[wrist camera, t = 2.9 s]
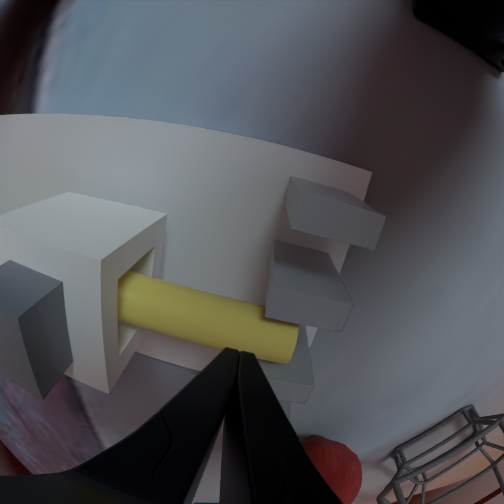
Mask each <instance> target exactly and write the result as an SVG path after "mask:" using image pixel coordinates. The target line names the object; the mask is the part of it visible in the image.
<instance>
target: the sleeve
mask: <svg viewBox="0 0 504 504" xmlns="http://www.w3.org/2000/svg"><path fill="white" fill-rule="evenodd" d="M166 220H167V214H166V213H162V212H158V211H153V210H149V209H144V208H140V207H136V206H131V205H127V204H122V203H118V202H113V201H109V200H104V199H99V198H95V197H90V196H86V195H81V194H76V193H72V192H67V193H64V194H60V195H57V196H54V197H51V198H48V199H45V200H42V201H39V202H36V203H33V204H30V205H27V206H25V207H22V208H19V209H16V210H14V211H11V212H8V213H6V214H3V215H0V373H1V374H3V375H4V376H6V377H7V378H9V379H10V380H11V381H13V382H14V383H16V384H17V385H19V386H20V387H22V388H24V389H25V390H27V391H28V392H30V393H32V394H33V395H35V396H36V397H38V398H40V399H42V400H44V399H45V397H46V396H47V395H48V393H49V392H50V391H51V389H52V388H53V387H54V385H55V384H56V383H57V381H58V380H59V379H60V378H61V376H62V375H63V374H65V375H67V376H69V377H71V378H73V379H75V380H77V381H79V382H81V383H84V384H86V385H88V386H90V387H93V388H95V389H97V390H100V391H102V392H104V393H107V394H109V395H110V393H111V391H112V389H113V388H114V386H115V384H116V383H117V381H118V379H119V378H120V376H121V374H122V373H123V371H124V369H125V368H126V366H127V364H128V363H129V361H130V359H131V358H132V356H133V354H134V353H135V351H136V350H137V348H138V346H139V345H140V343H141V341H142V340H143V338H144V337H145V335H146V333H147V332H148V330H147V329H144V328H141V327H138V326H135V325H132V324H129V323H126V322H123V321H120V320H118V316H117V293H118V279H119V278H120V277H121V276H122V275H123V274H124V273H125V272H126V271H127V270H129V271H132V272H136V273H139V274H143V275H146V276H150V277H153V278H157V279H159V275H160V266H161V257H162V249H163V241H164V234H165V227H166Z"/></svg>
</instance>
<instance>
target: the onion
mask: <svg viewBox="0 0 504 504" xmlns="http://www.w3.org/2000/svg"><path fill="white" fill-rule="evenodd" d="M302 445H303V447H304V449H305V450H306V452H307V454H308V455H309V457H310V459H311V460H312V462H313V464H314V465H315V467H316V468H317V470H318V471H319V472H320V474H321V475H322V477H323V478H324V479H325V481H326V482H327V483H328V485H329V486H330V487H331V488H332V490H333V491H334V492H335V493H336V495H337V496H338V497H339V498H340V500H341V501H342V502H343V503H344V504H351V503H352V502H353V500H354V499H355V497H356V496H357V494H358V492H359V490H360V487H361V482H362V469H361V463H360V461H359V459H358V457H357V455H356V454H355V453H354V452H352V451H351V450H350V449H349V448H348V447H347V446H346V445H344V444H341V443H339V442H336V441H332V440H328V439H325V438H323V437H321V436H313V437H311V438H309V439H308V440H306V441H305V442H304V443H303V444H302Z"/></svg>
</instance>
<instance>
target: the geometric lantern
mask: <svg viewBox="0 0 504 504" xmlns="http://www.w3.org/2000/svg"><path fill="white" fill-rule="evenodd" d="M469 409H470V410H471V412H472V416H473V420H471V418H470V416H469V415H468V413H467V412H466V411H467V410H469ZM461 413H462V414H463V415H464V417H465V418H466V420H467V422H468V423H469V424H467V425H466V426H464V427H463V428H462V429H460V430H459V431H457V432H456V433H454V434H453V435H451V436H450V437H448V438H447V439H445V440H443V441H442V442H440V443H439V444H437V445H435V446H434V447H432V448H430V449H429V450H427V451H425V452H423V453H422V454H420V455H418V456H416V457H414V458H413V459H411V460H409V461H406V458H405V456H404V454H403V452H402V450H401V449H402V448H404V447H406V446H408V445H410V444H412V443H414V442H416V441H417V440H419V439H421V438H423V437H424V436H426V435H428V434H430V433H431V432H433V431H435V430H436V429H438V428H440V427H441V426H443V425H444V424H446V423H447V422H449V421H451V420H452V419H454V418H455V417H457V416H458V415H459V414H461ZM492 419H497V420H492ZM473 424H475V428H476V431H475V432H474V434H473V435H472V436H471V437H470V438H468V439H467V440H465V441H464V442H462V443H461V444H459V445H458V446H456V447H455V448H453V449H451V450H450V451H448V452H446V453H445V454H443V455H441V456H440V457H438V458H436V459H434V460H433V461H431V462H429V463H427V464H425V465H423V466H422V467H418V468H414V469H412V468H410V467H409V466H408V465H409V464H411V463H413V462H414V461H416V460H418V459H420V458H422V457H424V456H425V455H427V454H429V453H431V452H432V451H434V450H436V449H437V448H439V447H441V446H442V445H444V444H445V443H447V442H448V441H450V440H452V439H453V438H455V437H456V436H458V435H459V434H461V433H462V432H463V431H465V430H466V429H468V428H469V427H471V426H472V425H473ZM478 425H479V426H478ZM483 425H489V426H487V427H486V428H485V429H483ZM497 426H500V428H501V430H502V431H503V433H504V414H498V415H492V416H485V417H479V415H478V413H477V411H476V410H475V408H474V406H473V405H469V406H467V407H464V408H462V409H460V410H459V411H457V412H456V413H454V414H453V415H452V416H450V417H448V418H447V419H445V420H444V421H442V422H441V423H439V424H438V425H436V426H434V427H433V428H431V429H429V430H428V431H426V432H424V433H422V434H421V435H419V436H417V437H415V438H414V439H412V440H410V441H408V442H406V443H404V444H402V445H400V446H399V447H396V449H395V451H394V453H393V455H392V457H394V459H395V463H396V466H397V470H398V471H397V473H396V474H395V476H394V477H393V479H392V480H391V482H390V483H389V484H388V485H387V486H386V487H385V488H384V490H383V491H382V492H381V493H380V494H379V496H378V497H377V499H376V500H377V503H378V504H391V503H390V502H389V501H388V500H386V499H385V498H384V497H385V496H386V495H387V494H388V493H389V492H390V490H391V489H392V488H393V490H394V493H395V496H396V498H397V501H398V504H408V503H409V501H410V499H411V497H412V496H413V494H414V492H415V491H416V489H417V487H418V485H420V484H423V485H422V496H421V504H424V497H425V488H426V483H428V482H430V481H432V480H433V479H435V478H437V477H438V476H440V475H442V474H443V473H445V472H447V471H448V470H450V469H451V468H453V467H454V466H456V465H457V464H459V463H460V462H462V461H463V460H465V459H466V458H468V457H469V456H471V455H472V454H473V453H475V452H476V451H477V450H480V451H481V452H482V453H483V455H484V456H485V457H486V458H487V459H488V460H489V462H490V463H491V465H490V466H489V467H487V468H486V469H484V470H483V471H481V472H480V473H478V474H477V475H476V476H474V477H472V478H471V479H469V480H468V481H466V482H465V483H463V484H461V485H460V486H458V487H457V488H455V489H453V490H451V491H449V492H448V493H446V494H444V495H442V496H440V497H439V498H437V499H435V500H433V501H431V502H429V503H427V504H435V503H437V502H439V501H441V500H443V499H445V498H446V497H448V496H450V495H452V494H454V493H455V492H456V491H459V490H460V489H462V488H464V487H465V486H467V485H468V484H470V483H472V482H473V481H474V480H476V479H478V478H479V477H481V476H482V475H484V474H485V473H486V472H488V471H489V470H491V469H492V468H493V470H494V473H495V475H496V478H497V480H498V482H499V484H500V487H501V490H502V493H503V495H504V482H503V479H502V477H501V474H500V472H499V470H498V468H497V464H498V463H499V462H500V461H501V460H503V459H504V454H502V455H501V456H500V457H499V458H498V459H497V460H496V461H495V462H494V461H493V460H492V459H491V457H490V456H489V455H488V454H487V453H486V451H485V450H484V449H483V448H482V446H483V445H487V446H490V447H493V448H496V449H500V450H503V451H504V447H502V446H499V445H496V444H493V443H490V442H487V441H486V438H485V435H486V434H488V433H489V432H491V431H492V430H493V429H495V428H496V427H497ZM477 433H478V434H477ZM479 439H482V441H483V442H482V443H481V444H480V445H479V443H478V440H479ZM473 443H475V445H476V447H477V448H475V449H474V450H473V451H471V452H470V453H469V454H467V455H466V456H464V457H463V458H461V459H460V460H458V461H457V462H455V463H454V464H452V465H451V466H449V467H448V468H446V469H445V470H443V471H441V472H440V473H438V474H436V475H435V476H433V477H431V478H430V479H428V480H427V477H426V474H425V471H427V470H429V469H431V468H433V467H435V466H437V465H438V464H440V463H442V462H444V461H446V460H447V459H449V458H451V457H452V456H454V455H456V454H457V453H459V452H461V451H462V450H464V449H466V448H467V447H469V446H470V445H472V444H473ZM397 453H399V455H400V457H399V456H398V455H397ZM400 464H402V465H400ZM404 468H406V469H407V470H408V471H410V473H406V472H404V471H403V470H404ZM421 473H422V476H423V479H424V481H420V482H419V480H418V477H417V475H419V474H421ZM401 474H402V475H403V476H401V477H400V475H401ZM413 477H414V478H413ZM406 480H410V481H412V482H413V483H415V486H414V488H413V490H412V492H411V493H410V495H409V497H408V499H407V500H406V501H405V498H404V495H403V493H402V490H401V487H400V485H399V484H400V483H402V482H404V481H406Z"/></svg>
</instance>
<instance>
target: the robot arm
mask: <svg viewBox="0 0 504 504" xmlns="http://www.w3.org/2000/svg"><path fill="white" fill-rule="evenodd" d="M421 10H422V11H424V13H425V14H423V13H422V12H421ZM413 13H414V15H415V16H416V17H417V18H418V19H420V20H421V21H423V22H425V23H427V24H429V25H431V26H432V27H434V28H436V29H438V30H440V31H441V32H443V33H445V34H446V35H448V36H450V37H451V38H453V39H455V40H456V41H458V42H459V43H461V44H463V45H464V46H466V47H467V48H469V49H470V50H472V51H473V52H475V53H476V54H477V55H479V56H480V57H482V58H483V59H484V60H486V61H487V62H488V63H490V64H491V65H492V66H494V67H495V68H496V69H498V70H499V71H500V72H504V0H413ZM501 63H502V64H501ZM224 416H225V417H224ZM223 419H224V426H223V443H222V461H221V480H220V500H219V504H344V503H343V502H342V501H341V500H340V498H339V497H338V496H337V495H336V493H335V492H334V491H333V490H332V488H331V487H330V486H329V485H328V483H327V482H326V481H325V479H324V478H323V477H322V475H321V474H320V472H319V471H318V470H317V468H316V467H315V465H314V464H313V462H312V460H311V459H310V457H309V455H308V454H307V452H306V450H305V449H304V447H303V445H302V443H301V441H298V440H299V438H298V436H297V434H296V432H295V431H294V429H293V427H292V425H291V423H290V421H289V419H288V418H287V416H286V414H285V412H284V410H283V408H282V406H281V404H280V402H279V401H278V399H277V397H276V395H275V393H274V391H273V389H272V387H271V385H270V383H269V381H268V379H267V377H266V375H265V373H264V371H263V369H262V367H261V365H260V364H259V362H258V360H257V358H256V356H255V354H254V353H251V352H247V351H240V353H239V350H238V349H234V348H229V347H225V348H224V349H223V350H222V351H221V352H220V353H219V354H218V355H217V356H216V357H215V358H214V359H213V360H212V361H211V362H210V363H209V364H208V365H207V366H206V367H205V368H203V369H202V370H201V371H200V372H199V373H198V374H197V375H196V376H195V377H194V378H193V379H192V380H191V381H190V382H189V383H188V384H187V385H186V386H185V387H184V388H183V389H181V390H180V391H179V392H178V393H177V394H176V395H175V396H174V397H173V398H172V399H171V400H170V401H169V402H168V403H166V404H165V405H164V406H163V407H162V408H161V409H160V410H159V412H156V413H155V414H154V415H153V416H152V417H151V418H150V419H149V420H148V421H146V422H145V423H144V424H143V425H142V426H140V427H139V428H138V429H137V430H135V431H134V432H133V433H131V434H130V435H128V436H127V437H125V438H124V439H122V440H121V441H119V442H118V443H116V444H115V445H113V446H111V447H110V448H108V449H106V450H105V451H103V452H101V453H100V454H98V455H96V456H95V457H93V458H91V459H90V460H88V461H86V462H84V463H83V464H81V465H79V466H77V467H75V468H72V469H70V470H67V471H63V472H59V473H51V474H39V475H20V476H0V504H191V503H192V501H193V498H194V496H195V493H196V491H197V488H198V486H199V483H200V481H201V478H202V476H203V473H204V470H205V468H206V465H207V463H208V460H209V457H210V455H211V452H212V449H213V447H214V444H215V441H216V439H217V436H218V433H219V431H220V428H221V425H222V422H223Z"/></svg>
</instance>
